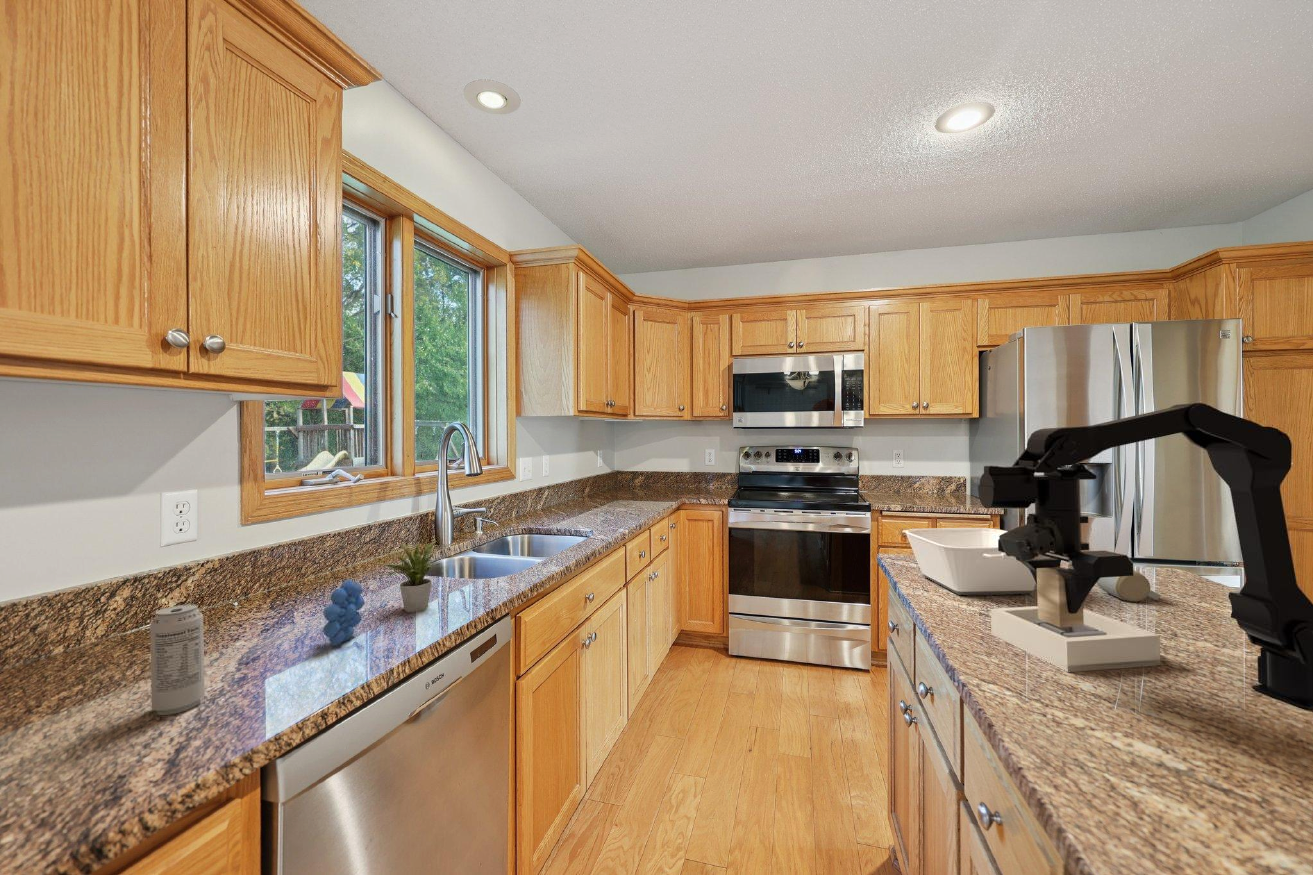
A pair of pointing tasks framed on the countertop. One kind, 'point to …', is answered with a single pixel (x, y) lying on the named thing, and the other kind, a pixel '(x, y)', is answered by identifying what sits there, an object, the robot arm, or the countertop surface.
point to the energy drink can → (177, 659)
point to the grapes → (343, 612)
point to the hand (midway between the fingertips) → (1060, 608)
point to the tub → (969, 561)
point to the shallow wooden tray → (1077, 640)
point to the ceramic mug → (1128, 587)
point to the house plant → (414, 578)
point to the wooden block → (1055, 599)
